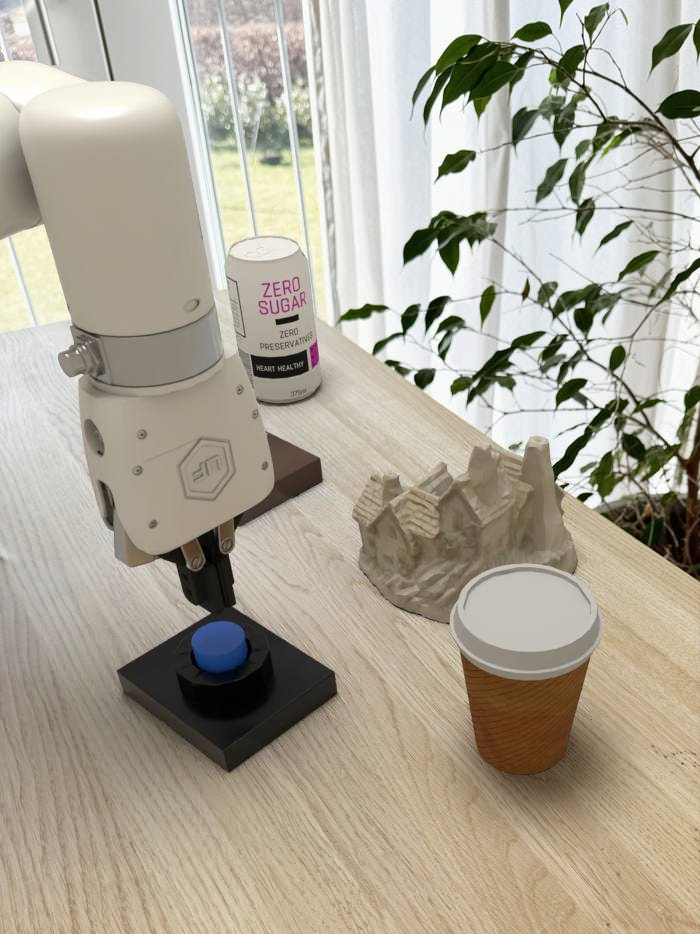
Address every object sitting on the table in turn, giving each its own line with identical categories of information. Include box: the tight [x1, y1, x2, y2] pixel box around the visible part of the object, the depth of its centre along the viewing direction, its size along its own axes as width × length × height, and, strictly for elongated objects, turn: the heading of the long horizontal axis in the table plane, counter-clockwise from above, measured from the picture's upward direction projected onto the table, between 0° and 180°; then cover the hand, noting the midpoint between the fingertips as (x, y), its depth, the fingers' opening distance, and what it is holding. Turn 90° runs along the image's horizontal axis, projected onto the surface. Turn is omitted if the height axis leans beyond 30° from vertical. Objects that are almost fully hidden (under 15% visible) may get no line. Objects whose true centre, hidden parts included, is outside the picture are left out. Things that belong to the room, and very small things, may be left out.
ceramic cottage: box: [351, 435, 579, 624], centre depth 80 cm, size 16×16×15 cm
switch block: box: [116, 606, 338, 774], centre depth 71 cm, size 12×10×4 cm
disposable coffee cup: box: [449, 563, 605, 775], centre depth 65 cm, size 10×10×12 cm
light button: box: [191, 621, 248, 673], centre depth 70 cm, size 4×4×2 cm
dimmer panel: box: [238, 430, 324, 527], centre depth 94 cm, size 14×10×3 cm
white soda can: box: [223, 234, 322, 404], centre depth 103 cm, size 8×8×15 cm
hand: (212, 601), depth 67 cm, fingers closed
